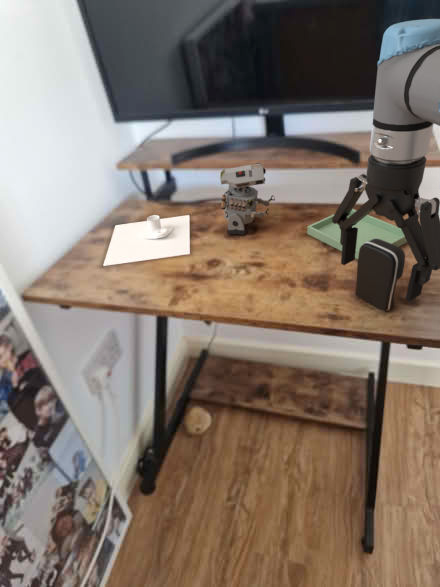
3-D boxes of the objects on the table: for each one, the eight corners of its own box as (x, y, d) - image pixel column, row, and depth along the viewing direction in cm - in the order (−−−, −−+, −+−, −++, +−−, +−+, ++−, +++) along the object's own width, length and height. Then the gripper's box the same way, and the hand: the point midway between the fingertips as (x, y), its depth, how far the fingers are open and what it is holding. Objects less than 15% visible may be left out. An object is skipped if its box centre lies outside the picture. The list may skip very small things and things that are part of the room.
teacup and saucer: (172, 239, 98) (168, 224, 95) (139, 244, 98) (135, 229, 95) (173, 222, 105) (170, 208, 102) (142, 227, 105) (139, 212, 102)
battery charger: (400, 304, 70) (411, 247, 63) (385, 314, 68) (395, 257, 61) (367, 286, 74) (374, 232, 68) (353, 295, 73) (358, 240, 66)
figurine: (268, 237, 93) (265, 174, 84) (221, 235, 96) (213, 174, 87) (275, 218, 100) (273, 158, 91) (231, 217, 103) (224, 159, 94)
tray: (410, 240, 85) (412, 232, 84) (367, 264, 80) (368, 256, 79) (348, 214, 97) (349, 207, 96) (307, 233, 92) (307, 226, 91)
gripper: (313, 143, 63) (310, 256, 76) (468, 189, 46) (430, 326, 59) (347, 130, 66) (339, 242, 79) (506, 169, 48) (461, 304, 61)
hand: (378, 278), depth 69 cm, fingers open, 13 cm apart
